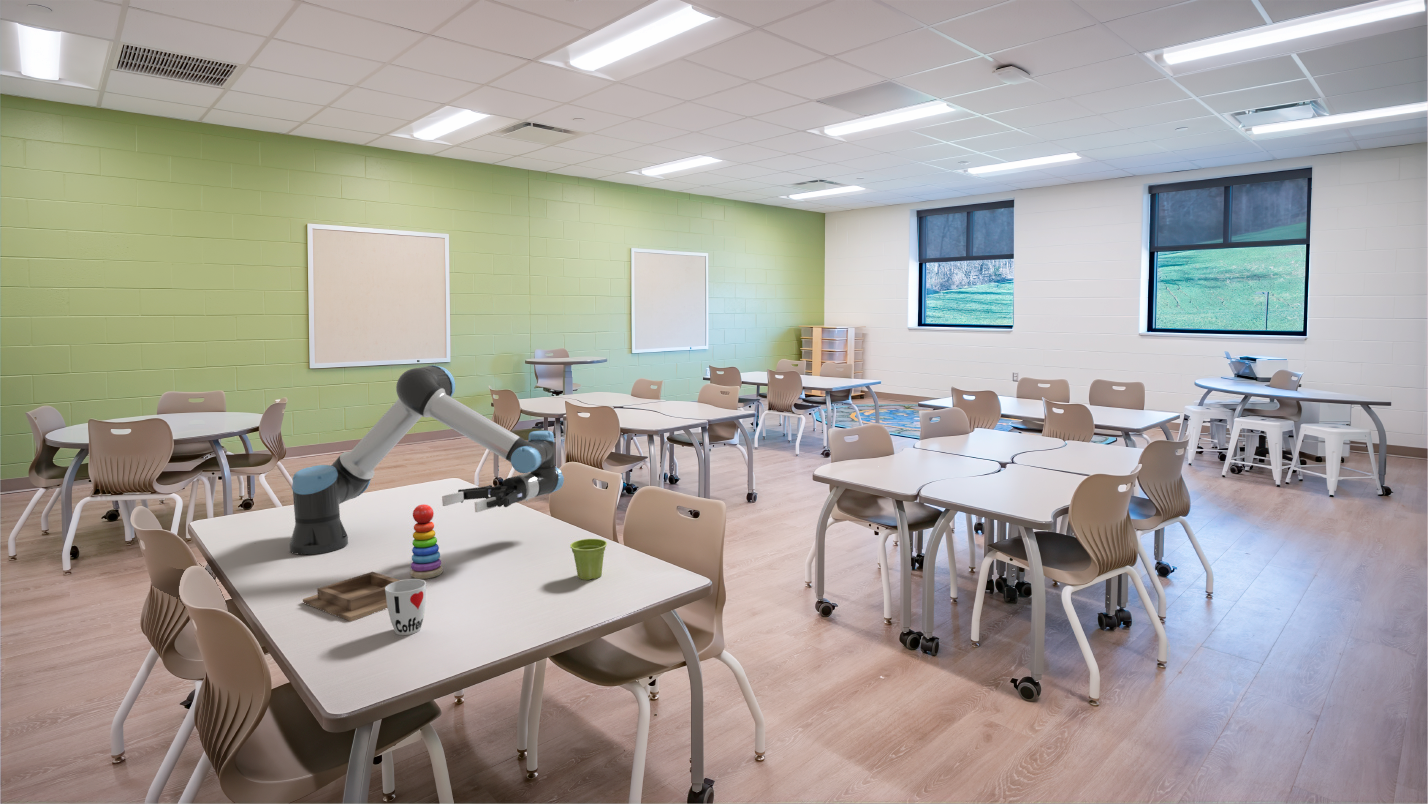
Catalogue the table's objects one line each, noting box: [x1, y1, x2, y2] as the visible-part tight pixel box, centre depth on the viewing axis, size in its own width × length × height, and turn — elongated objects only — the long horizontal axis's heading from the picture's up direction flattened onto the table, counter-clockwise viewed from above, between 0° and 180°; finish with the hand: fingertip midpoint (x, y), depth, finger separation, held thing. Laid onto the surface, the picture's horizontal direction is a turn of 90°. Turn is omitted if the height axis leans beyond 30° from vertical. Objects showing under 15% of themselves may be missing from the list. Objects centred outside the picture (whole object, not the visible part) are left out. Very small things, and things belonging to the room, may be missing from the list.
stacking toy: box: [410, 503, 444, 580], centre depth 193 cm, size 8×8×19 cm
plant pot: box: [569, 538, 608, 581], centre depth 192 cm, size 9×9×9 cm
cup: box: [385, 578, 427, 636], centre depth 159 cm, size 8×8×10 cm
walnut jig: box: [302, 571, 402, 622], centre depth 177 cm, size 20×18×4 cm
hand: (459, 504), depth 201 cm, fingers open, 13 cm apart
